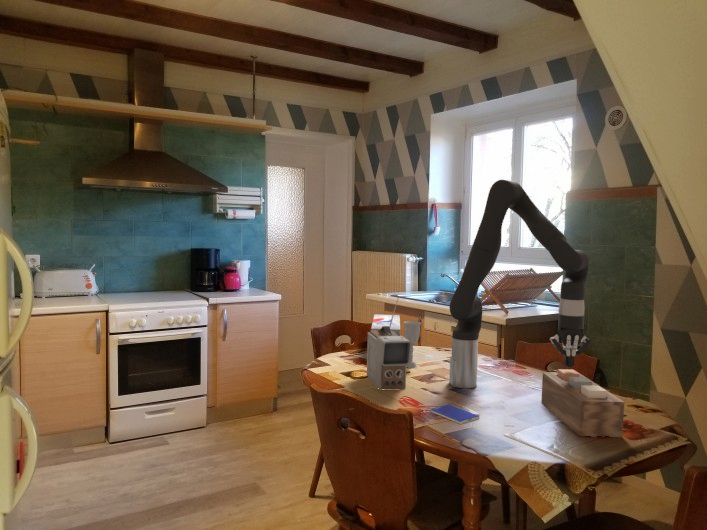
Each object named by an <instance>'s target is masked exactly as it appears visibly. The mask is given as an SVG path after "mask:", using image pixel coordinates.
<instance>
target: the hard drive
mask: <svg viewBox="0 0 707 530" xmlns="http://www.w3.org/2000/svg"><path fill="white" fill-rule="evenodd" d="M430 412H431V413H433V414H435V415H438V416H439V417H442V418H444V419H447V420H450V421H453V422H454V423H458V424H460V425H462V424H465V423H469V422H472V421H476V420H479V419H480V415H479V414H475V413H473V412H471V411H467V410H465V409H463V408H460V407H457V406H455V405H452V404H449V403H448V404H444V405H440V406H436V407H433V408H431V409H430Z"/></svg>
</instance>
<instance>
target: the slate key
mask: <svg viewBox="0 0 707 530" xmlns="http://www.w3.org/2000/svg"><path fill="white" fill-rule="evenodd" d="M587 378H588V377H587V376H585V377H569V385H570V386H571V387H573V388H574V389H581V385H587V386H592V382H593V381H592V380H591V379H589V378H588V379H587ZM590 380H591V381H590Z"/></svg>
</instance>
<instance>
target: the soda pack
mask: <svg viewBox="0 0 707 530" xmlns="http://www.w3.org/2000/svg"><path fill="white" fill-rule="evenodd" d="M392 316H393V314H379V313H378V314H376V313H374V315H373V318H372V319H373V320H372V322H371V323H372V324H371V327H370V331H378V329H381V328H382V327H383V326H390V322H391V319H392ZM400 318H401V317H400V314H394V316H393V319H392V323H391V326H390V330H392V331H393V332H395V333H396V334H398V335H399V334H400V335H401V319H400Z"/></svg>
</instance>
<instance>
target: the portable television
mask: <svg viewBox="0 0 707 530" xmlns="http://www.w3.org/2000/svg"><path fill="white" fill-rule="evenodd" d="M396 299H397V300H396V303H395V306H394V309H393V312H392V315H393V316H394V315H395V311H396V308H397V304H398V301H399V299H400V298H399V297H397V298H396ZM393 316H392V319H393ZM392 319H391V322H390V326H391V323H392ZM390 326H383V327H382V328H381V329H378V331H371V330H370V331H369V332H368V331H367V341H366V342H367V346H366V347H367V350H366V351H367V352H366V377H367V376H368V377H367V378H368V379H369V381H371V382H373V383H374V384H373V383H372V384H373V385H374V387H375V388H376V389H377V388H379V389H400V390H405V389H406V386H407V368H406V366H407V365H409V363H410V357H411V347H412V343H411V342H410V341H409V340H407V339H406V338H405V336H403V335H401V333H400V334H399V335H398V334H396V333H395V332H393V331H392V330H390ZM379 389H378V390H379Z"/></svg>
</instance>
